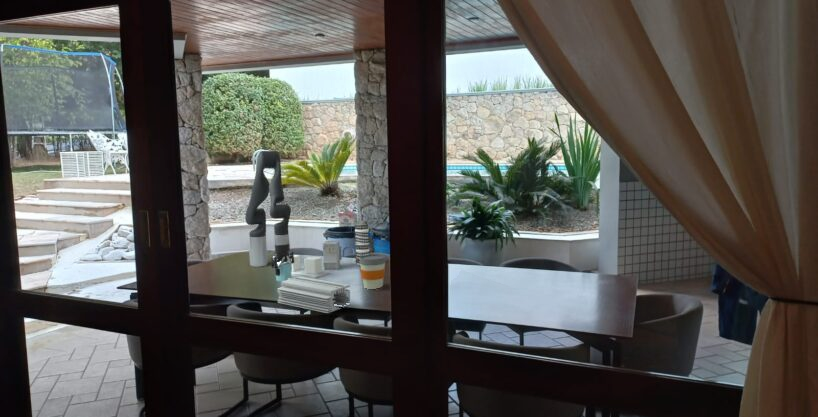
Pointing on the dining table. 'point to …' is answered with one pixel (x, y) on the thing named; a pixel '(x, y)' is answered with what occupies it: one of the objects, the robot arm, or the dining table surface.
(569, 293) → the dining table surface
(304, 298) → the aluminum extrusion profile
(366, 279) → the reusable coffee cup
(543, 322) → the dining table surface
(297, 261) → the rail panel
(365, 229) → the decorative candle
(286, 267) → the block
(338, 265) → the circuit breaker
